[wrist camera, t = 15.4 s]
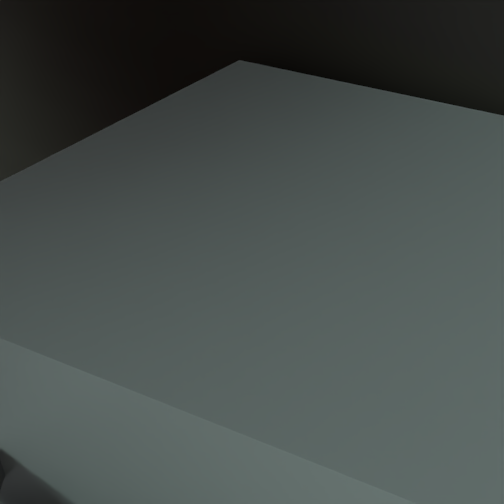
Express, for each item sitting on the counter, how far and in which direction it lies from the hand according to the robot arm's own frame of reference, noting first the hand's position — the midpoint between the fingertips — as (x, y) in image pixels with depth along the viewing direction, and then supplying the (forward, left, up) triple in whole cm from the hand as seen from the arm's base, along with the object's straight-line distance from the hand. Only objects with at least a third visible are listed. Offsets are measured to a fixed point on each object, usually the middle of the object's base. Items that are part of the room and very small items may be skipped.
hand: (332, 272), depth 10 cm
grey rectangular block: (0, 0, -2) cm, 2 cm away
